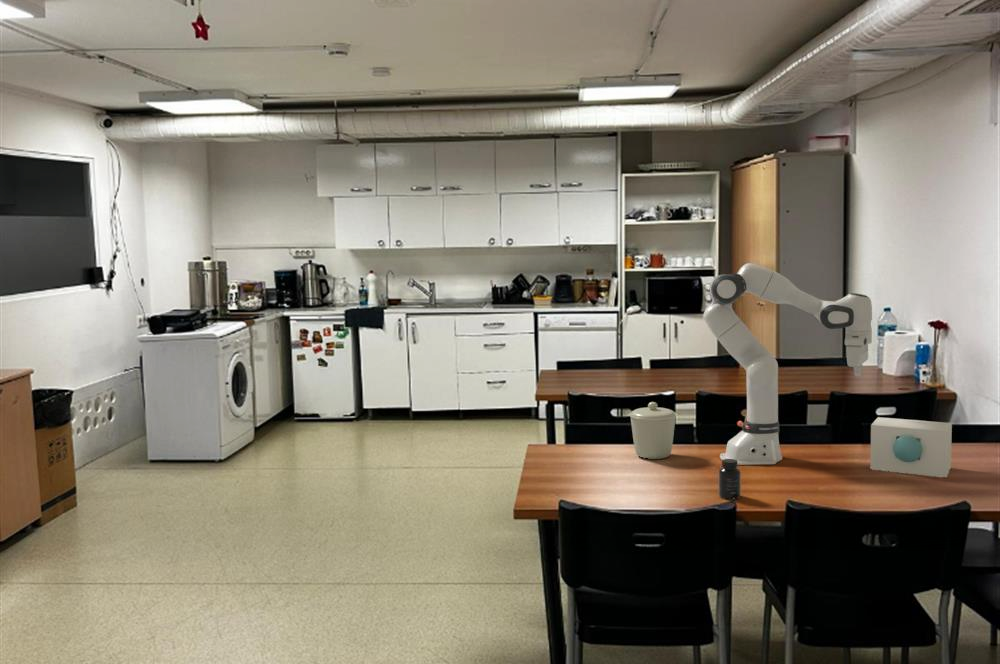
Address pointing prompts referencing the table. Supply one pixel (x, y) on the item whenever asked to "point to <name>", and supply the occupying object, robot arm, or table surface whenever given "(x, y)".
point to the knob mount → (932, 440)
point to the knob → (907, 448)
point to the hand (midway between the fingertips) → (857, 375)
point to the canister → (653, 431)
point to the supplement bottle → (729, 479)
